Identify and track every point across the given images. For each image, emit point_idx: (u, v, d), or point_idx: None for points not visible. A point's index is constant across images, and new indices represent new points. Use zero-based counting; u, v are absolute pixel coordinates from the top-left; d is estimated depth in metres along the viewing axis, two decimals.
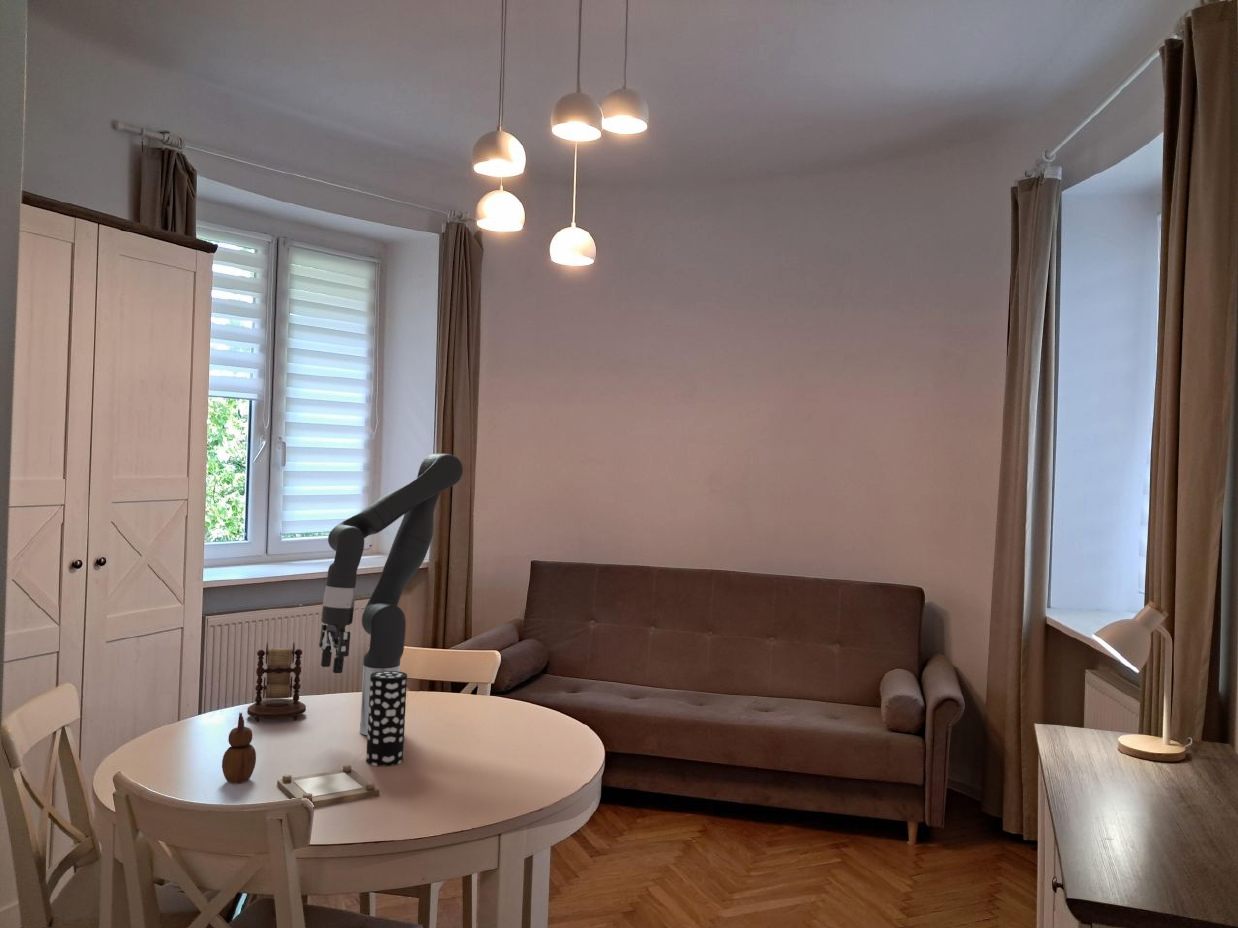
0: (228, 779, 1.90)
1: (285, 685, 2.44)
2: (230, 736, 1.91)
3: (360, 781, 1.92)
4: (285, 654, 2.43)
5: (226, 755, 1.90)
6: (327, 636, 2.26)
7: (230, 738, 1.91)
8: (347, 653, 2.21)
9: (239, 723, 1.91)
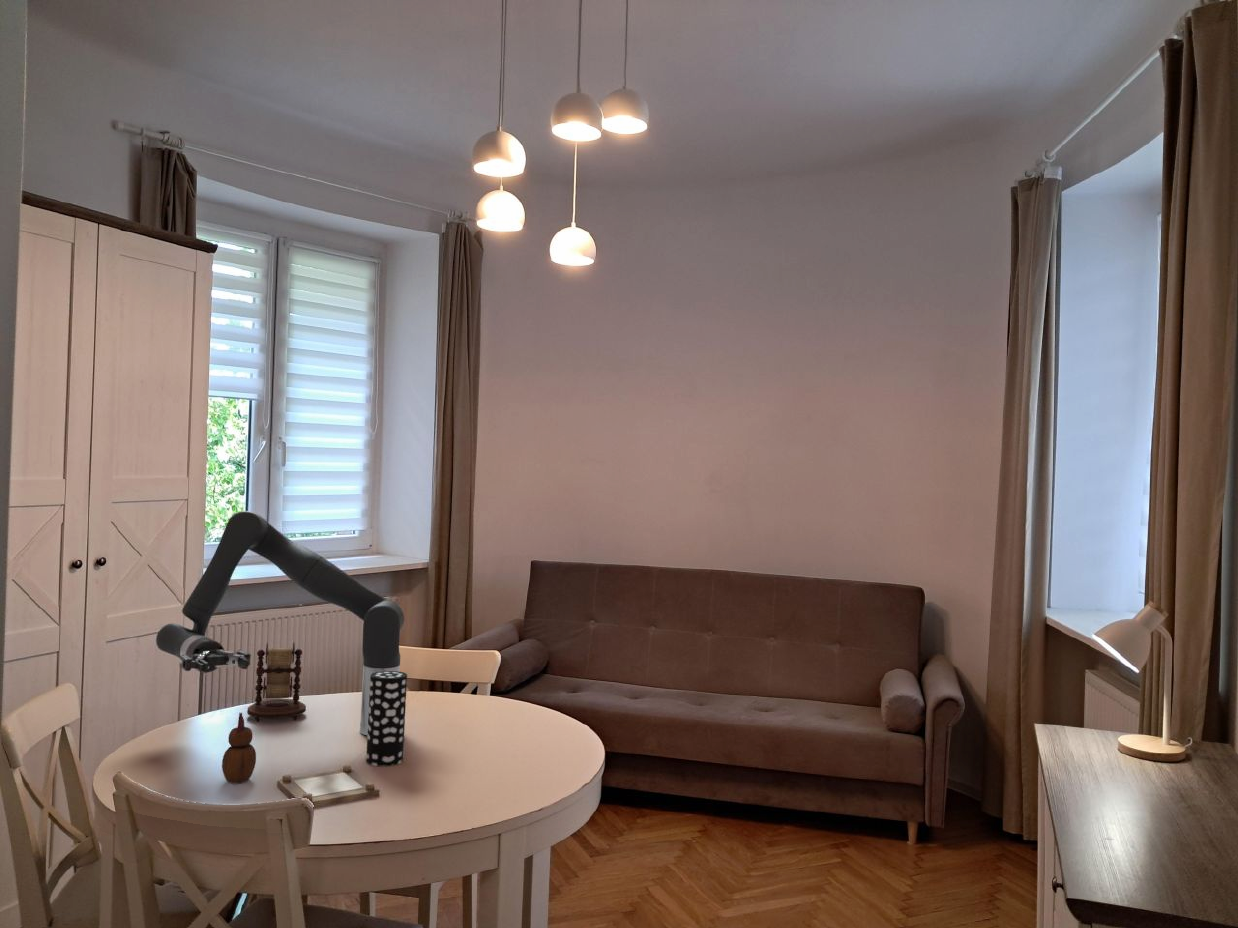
0: (228, 779, 1.90)
1: (285, 685, 2.44)
2: (230, 736, 1.91)
3: (360, 781, 1.92)
4: (285, 654, 2.43)
5: (226, 755, 1.90)
6: (218, 665, 2.08)
7: (230, 738, 1.91)
8: (185, 660, 2.01)
9: (239, 723, 1.91)
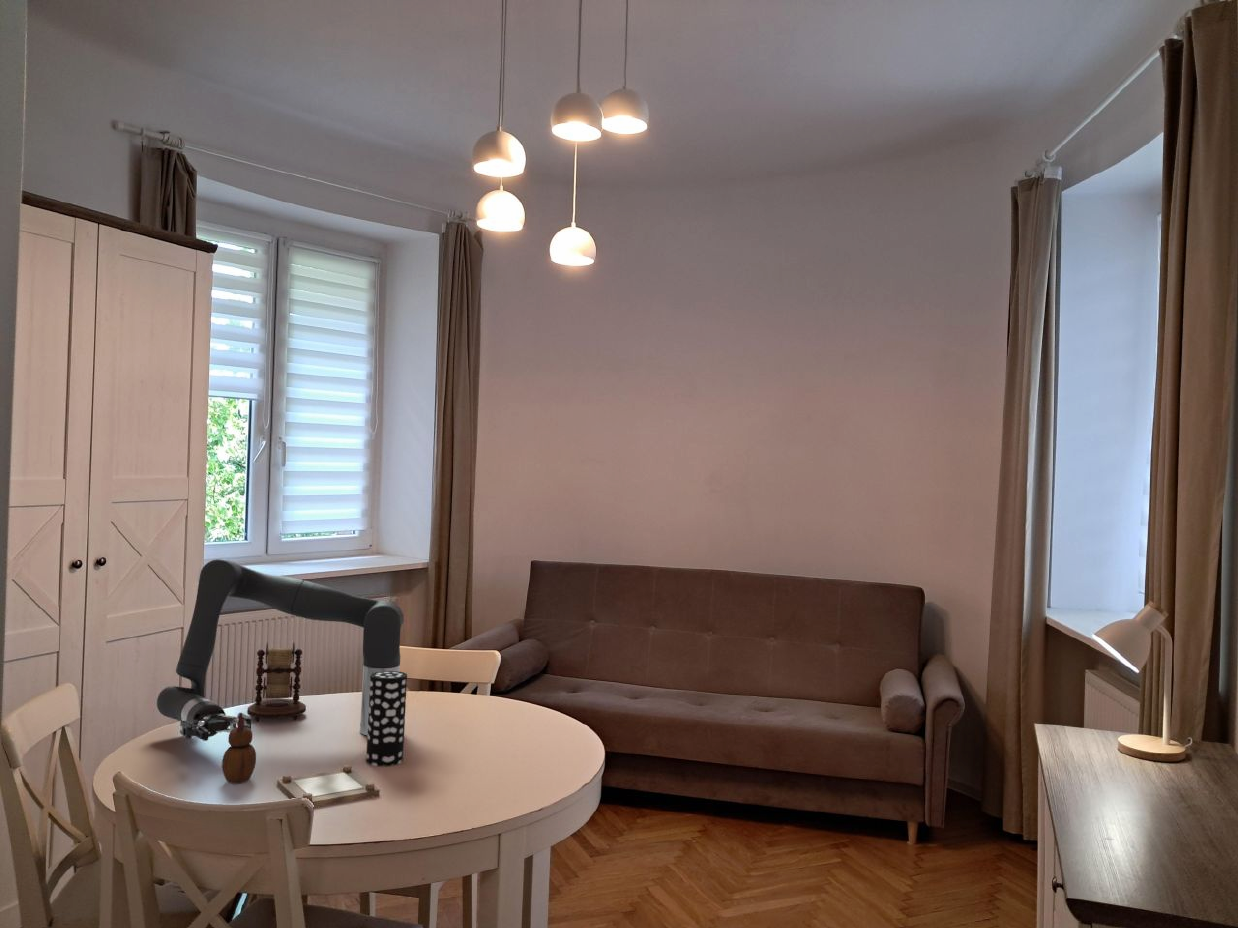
0: (228, 779, 1.90)
1: (285, 685, 2.44)
2: (230, 736, 1.91)
3: (360, 781, 1.92)
4: (285, 654, 2.43)
5: (226, 755, 1.90)
6: None
7: (230, 738, 1.91)
8: (185, 728, 1.98)
9: (239, 723, 1.91)
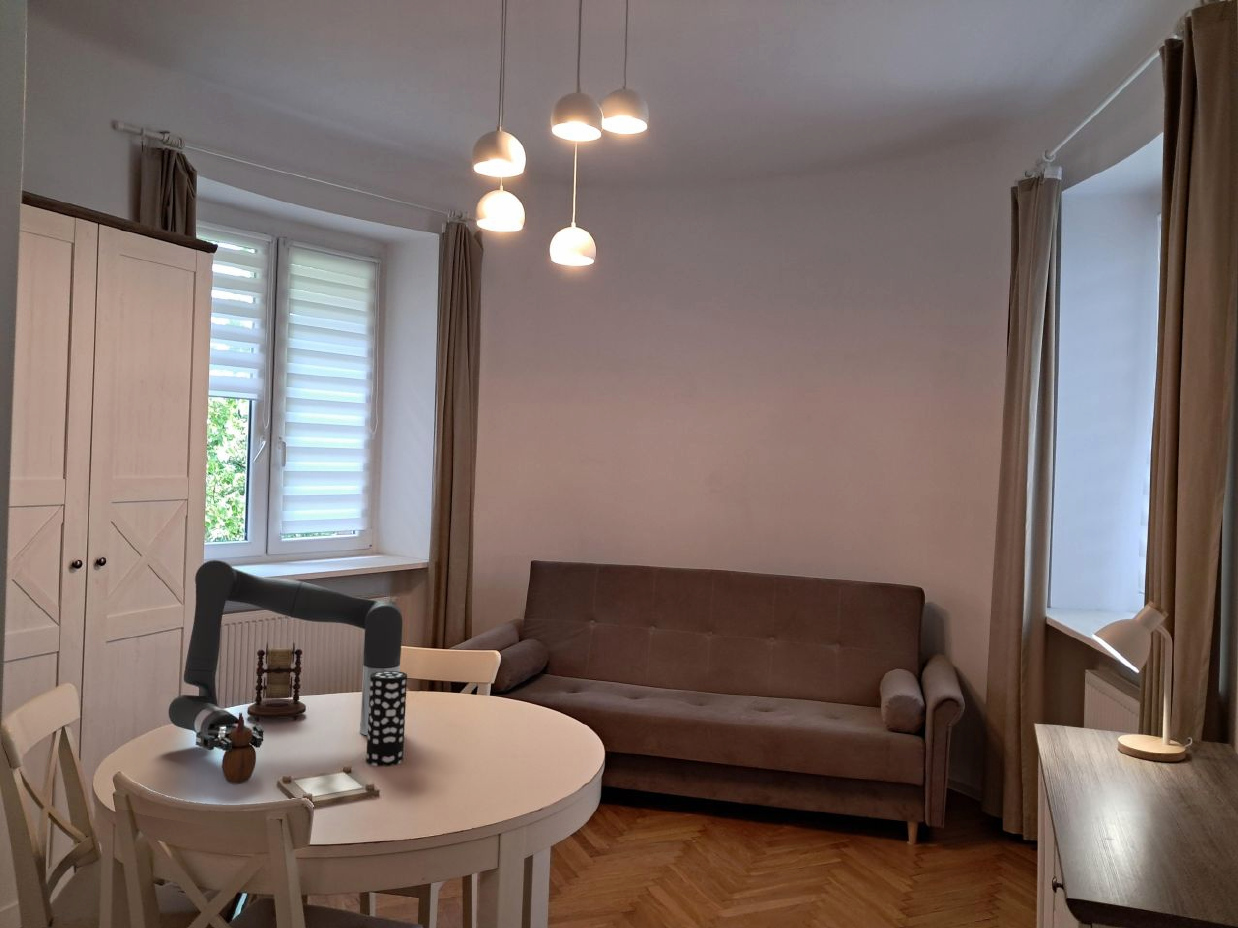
0: (228, 779, 1.90)
1: (285, 685, 2.44)
2: (230, 736, 1.91)
3: (360, 781, 1.92)
4: (285, 654, 2.43)
5: (226, 755, 1.90)
6: None
7: (230, 738, 1.91)
8: (208, 739, 1.91)
9: (239, 723, 1.91)
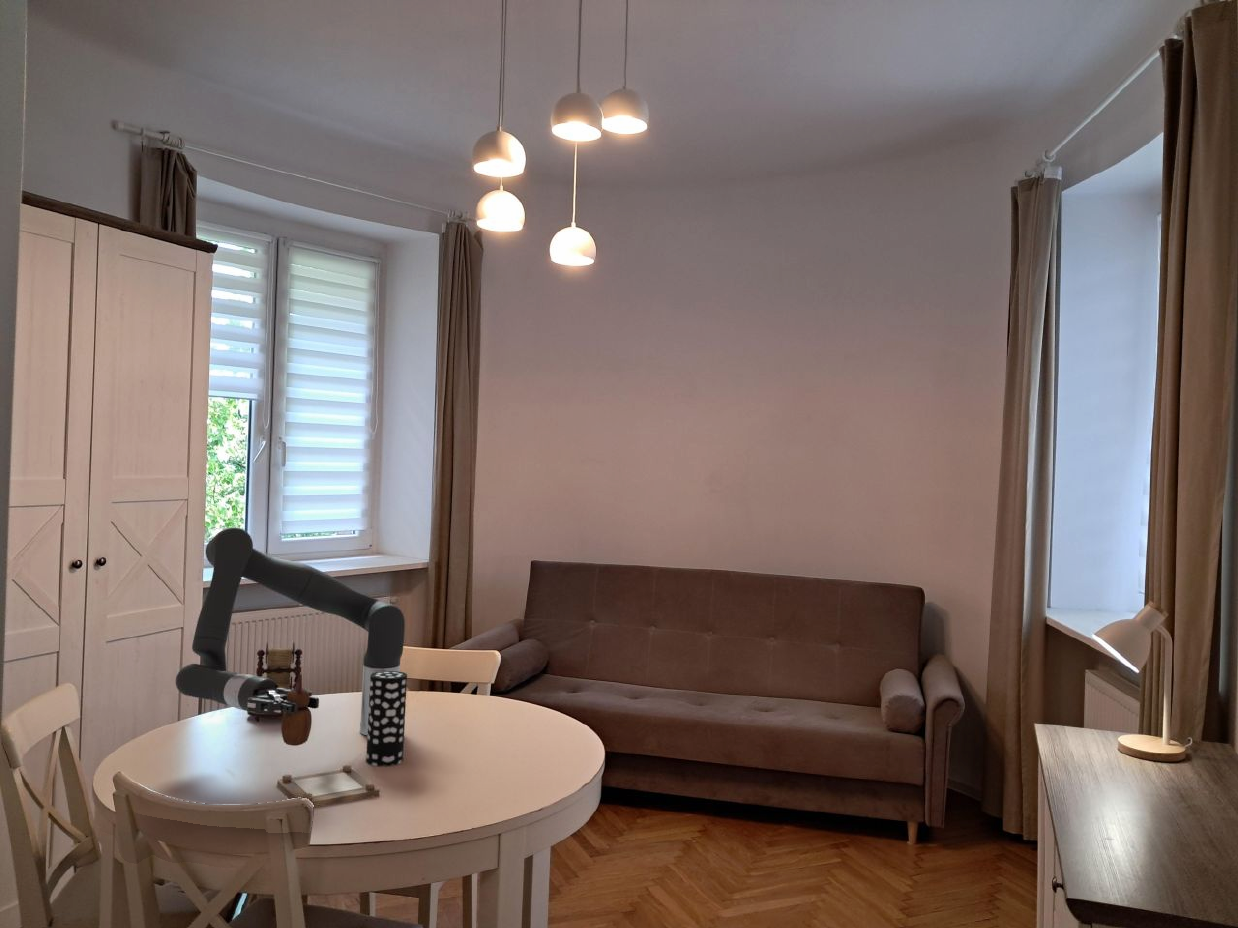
0: (290, 742, 1.87)
1: (285, 685, 2.44)
2: (291, 698, 1.88)
3: (360, 781, 1.92)
4: (285, 654, 2.43)
5: (288, 718, 1.87)
6: None
7: (291, 700, 1.87)
8: (268, 702, 1.86)
9: (300, 684, 1.88)
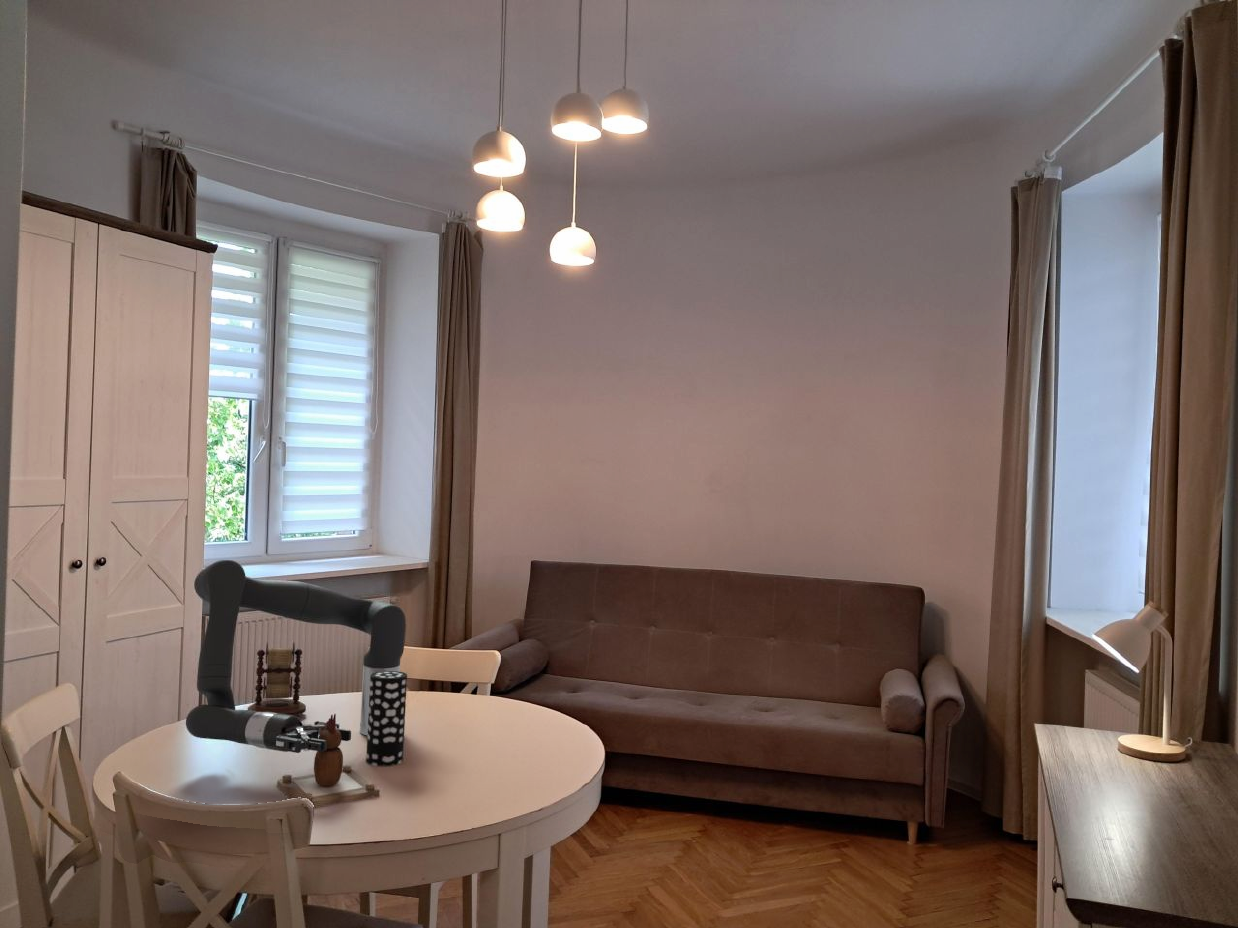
0: (324, 783, 1.87)
1: (285, 685, 2.44)
2: (325, 739, 1.87)
3: (360, 781, 1.92)
4: (285, 654, 2.43)
5: (323, 758, 1.86)
6: None
7: None
8: (295, 741, 1.84)
9: (334, 724, 1.88)
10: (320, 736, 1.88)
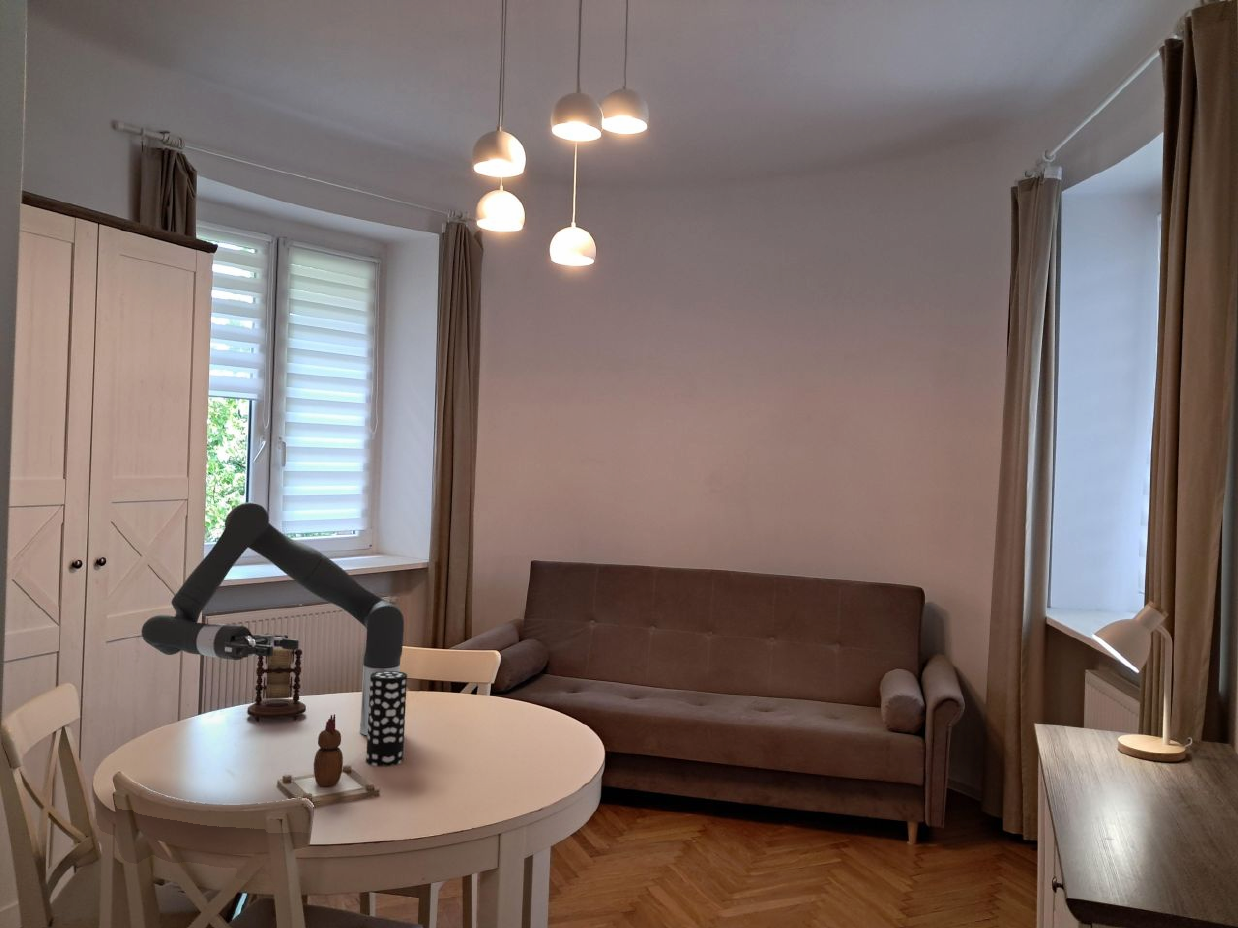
0: (324, 783, 1.87)
1: (285, 685, 2.44)
2: (325, 739, 1.87)
3: (360, 781, 1.92)
4: (285, 654, 2.43)
5: (323, 759, 1.86)
6: None
7: (325, 741, 1.87)
8: (242, 646, 1.93)
9: (334, 725, 1.88)
10: (320, 736, 1.88)
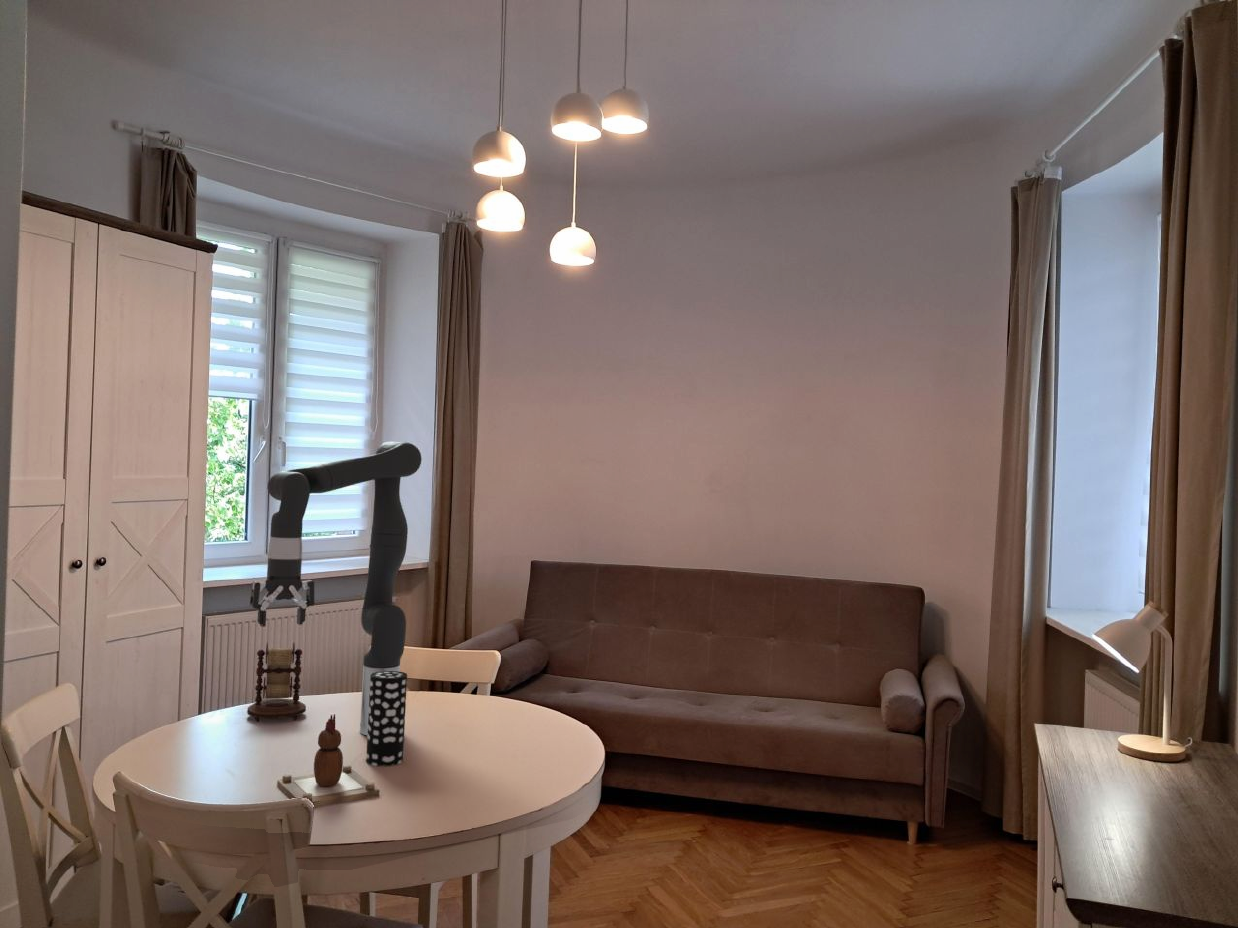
0: (324, 783, 1.87)
1: (285, 685, 2.44)
2: (325, 739, 1.87)
3: (360, 781, 1.92)
4: (285, 654, 2.43)
5: (323, 759, 1.86)
6: None
7: (325, 741, 1.87)
8: (252, 604, 2.08)
9: (334, 725, 1.88)
10: (320, 736, 1.88)
